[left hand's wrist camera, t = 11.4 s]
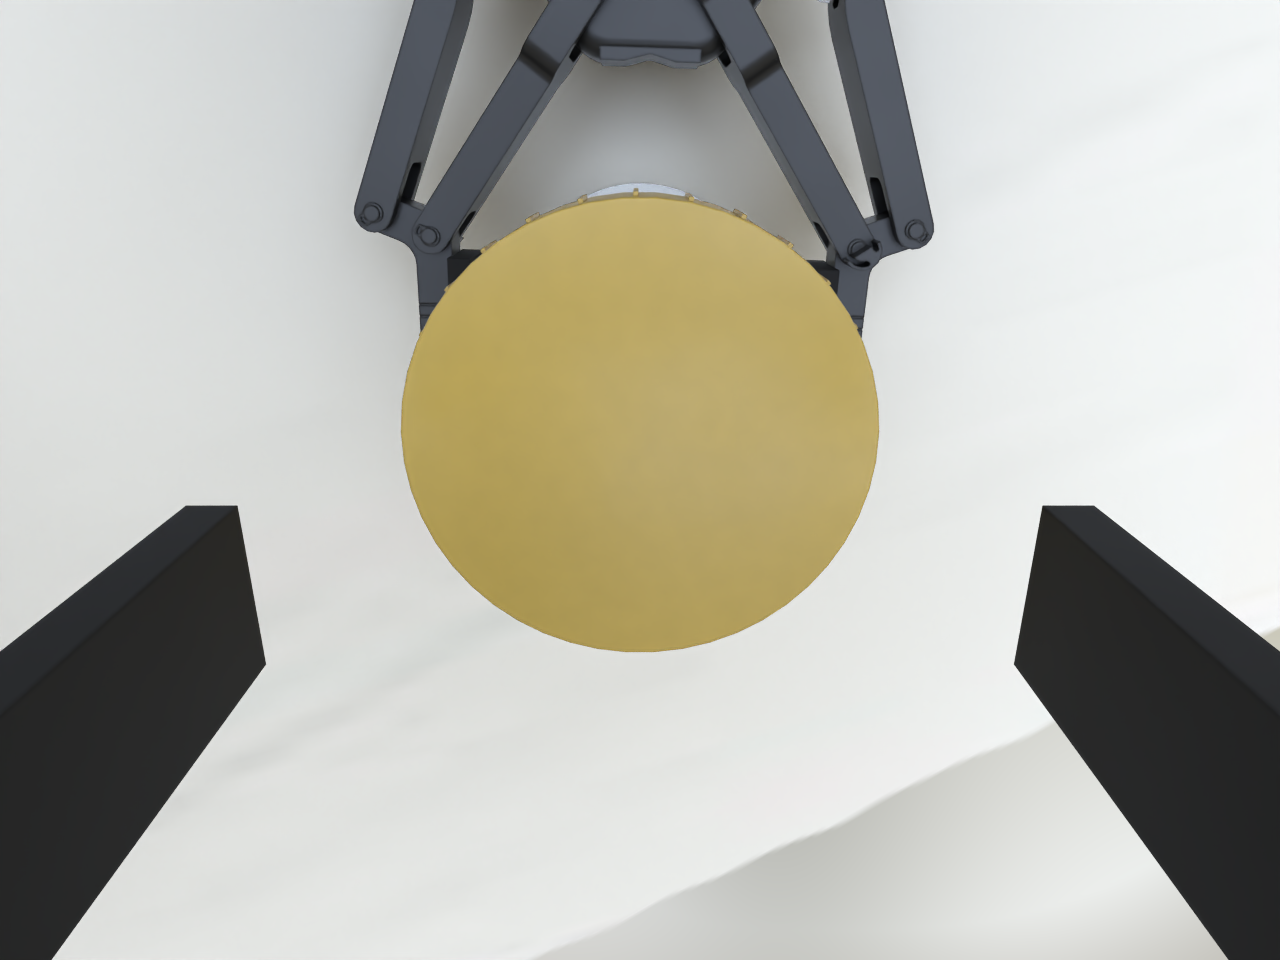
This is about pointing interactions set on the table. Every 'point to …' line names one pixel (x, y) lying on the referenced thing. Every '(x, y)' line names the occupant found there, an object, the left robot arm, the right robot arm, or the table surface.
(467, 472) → the lid
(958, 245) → the table surface
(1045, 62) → the table surface
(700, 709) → the table surface
